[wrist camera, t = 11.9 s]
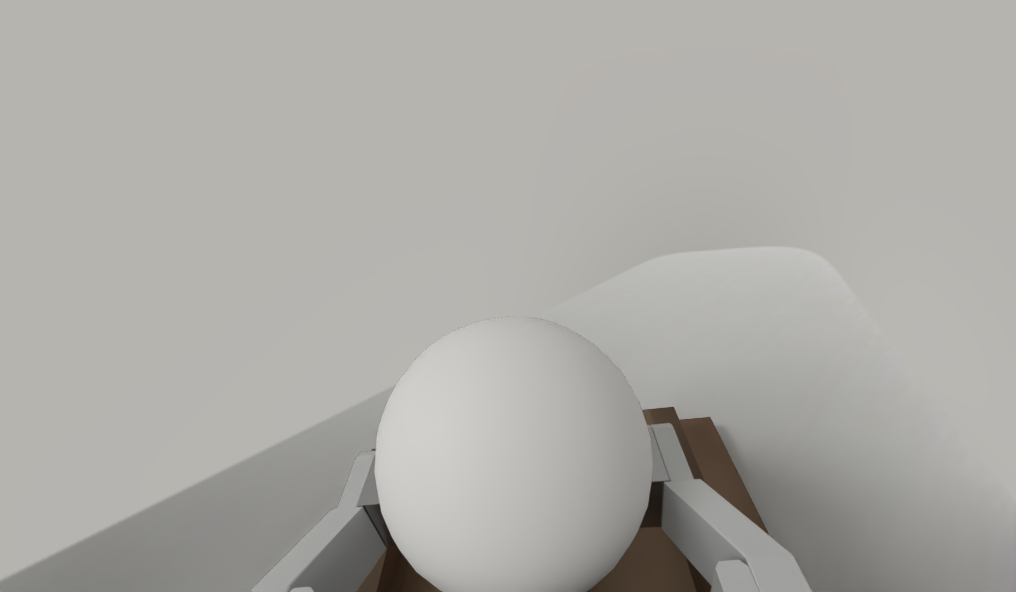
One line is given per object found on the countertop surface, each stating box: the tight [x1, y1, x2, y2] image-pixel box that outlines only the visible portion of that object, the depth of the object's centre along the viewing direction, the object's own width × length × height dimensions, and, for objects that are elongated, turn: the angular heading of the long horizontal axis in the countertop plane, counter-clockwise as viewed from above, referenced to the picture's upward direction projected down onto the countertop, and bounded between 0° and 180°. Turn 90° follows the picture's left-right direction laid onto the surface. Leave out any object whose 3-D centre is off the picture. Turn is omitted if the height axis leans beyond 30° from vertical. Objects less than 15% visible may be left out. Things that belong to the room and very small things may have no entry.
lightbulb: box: [374, 317, 653, 592], centre depth 11 cm, size 6×6×11 cm
